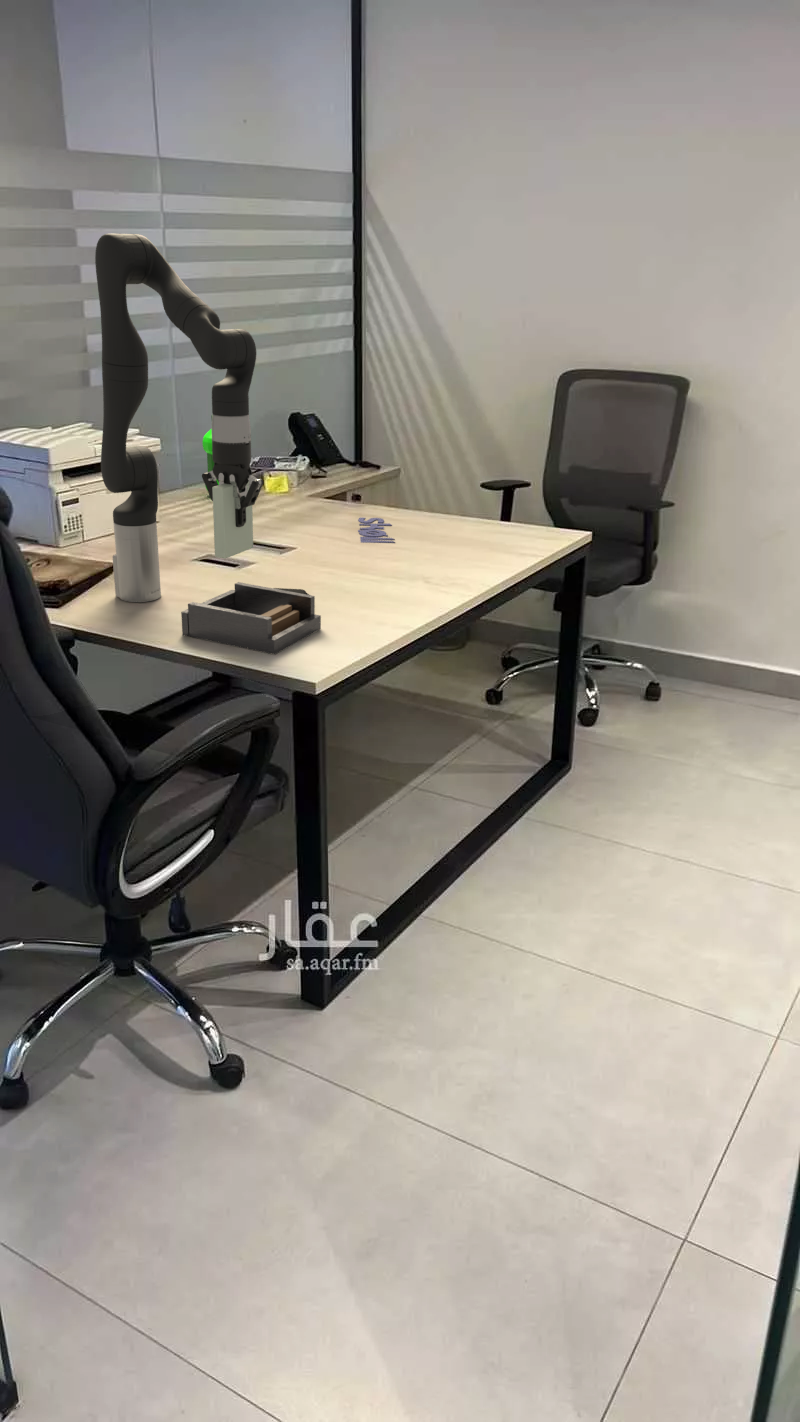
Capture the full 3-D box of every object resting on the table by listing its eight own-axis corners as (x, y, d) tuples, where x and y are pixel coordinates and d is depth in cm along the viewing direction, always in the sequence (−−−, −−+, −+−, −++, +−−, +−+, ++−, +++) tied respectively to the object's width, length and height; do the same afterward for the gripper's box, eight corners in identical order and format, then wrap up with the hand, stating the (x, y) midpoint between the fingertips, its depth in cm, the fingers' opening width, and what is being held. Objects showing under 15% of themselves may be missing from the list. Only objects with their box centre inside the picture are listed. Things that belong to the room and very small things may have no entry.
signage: (357, 517, 318) (390, 517, 319) (357, 519, 318) (390, 520, 319) (358, 541, 292) (395, 541, 293) (358, 543, 292) (395, 544, 293)
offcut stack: (250, 644, 216) (249, 618, 214) (282, 627, 226) (281, 602, 224) (268, 648, 214) (268, 621, 212) (299, 631, 224) (299, 606, 222)
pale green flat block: (214, 556, 214) (212, 486, 208) (243, 545, 222) (241, 478, 216) (225, 558, 213) (223, 488, 207) (253, 547, 221) (251, 479, 215)
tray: (182, 635, 219) (180, 602, 216) (232, 611, 234) (231, 580, 231) (274, 654, 210) (274, 620, 208) (320, 628, 225) (320, 597, 222)
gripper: (190, 436, 208) (194, 524, 215) (250, 444, 202) (252, 534, 209) (213, 431, 214) (215, 517, 221) (272, 439, 208) (273, 526, 215)
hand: (233, 524), depth 215 cm, fingers closed on pale green flat block, 2 cm apart
